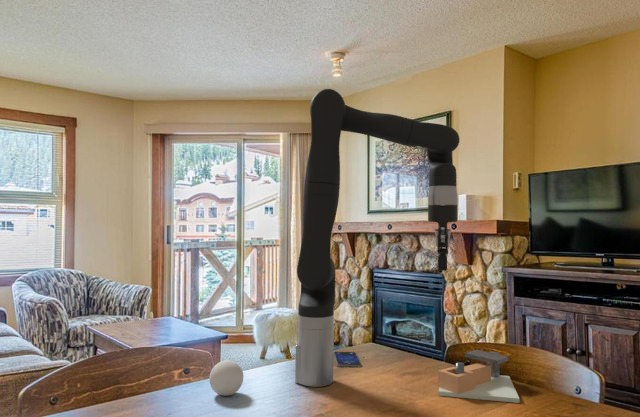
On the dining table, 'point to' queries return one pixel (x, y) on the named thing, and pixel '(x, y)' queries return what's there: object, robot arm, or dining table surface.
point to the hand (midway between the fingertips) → (442, 270)
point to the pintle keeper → (487, 357)
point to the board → (489, 391)
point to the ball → (226, 377)
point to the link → (464, 377)
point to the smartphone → (346, 359)
